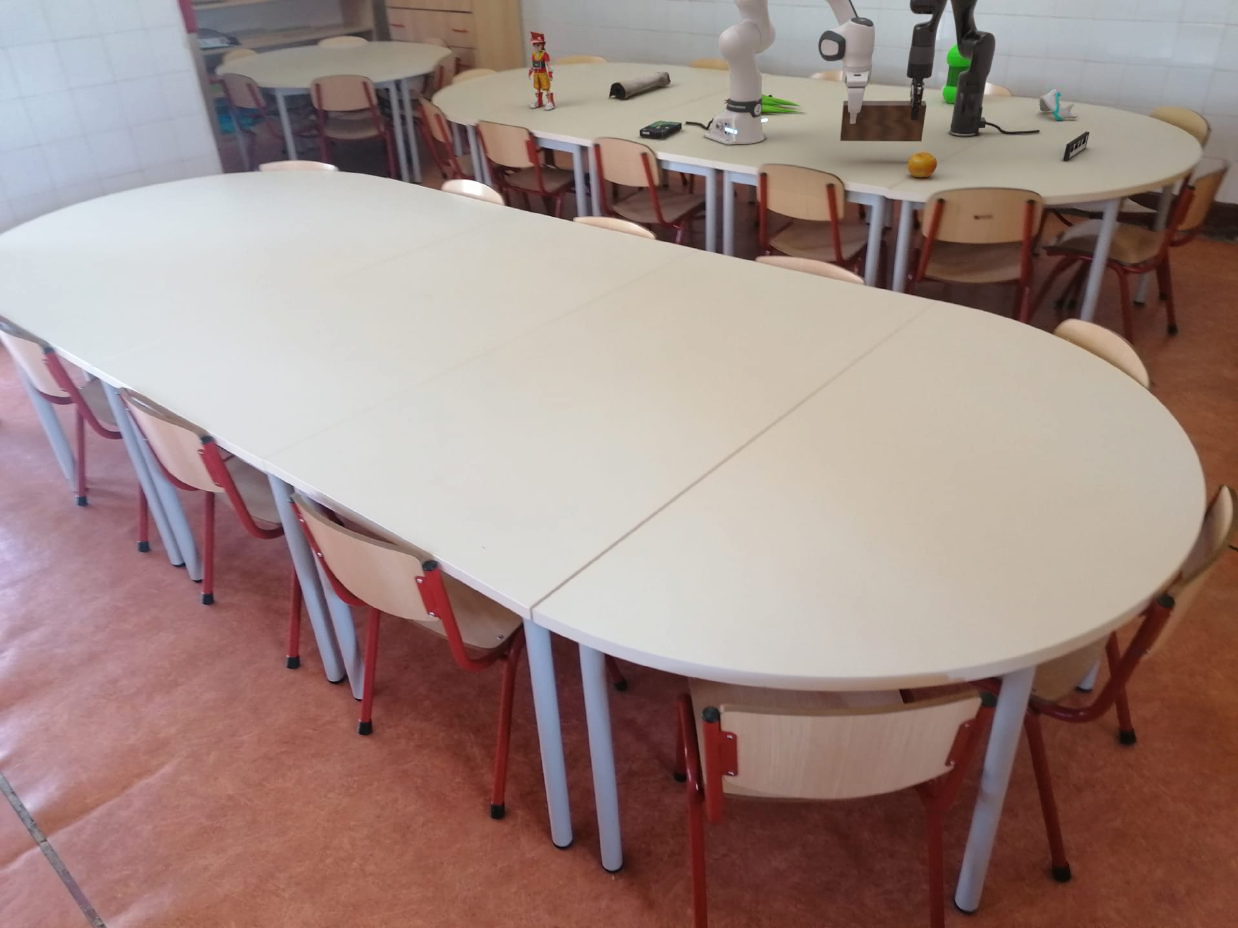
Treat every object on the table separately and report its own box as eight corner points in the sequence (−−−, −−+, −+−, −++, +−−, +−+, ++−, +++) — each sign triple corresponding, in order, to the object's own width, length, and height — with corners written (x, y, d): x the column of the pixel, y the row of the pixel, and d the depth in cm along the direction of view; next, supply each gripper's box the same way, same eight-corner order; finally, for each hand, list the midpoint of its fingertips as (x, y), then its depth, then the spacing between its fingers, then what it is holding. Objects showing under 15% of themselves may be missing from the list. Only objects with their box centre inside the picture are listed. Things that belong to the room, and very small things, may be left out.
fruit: (901, 167, 279) (918, 144, 275) (903, 170, 286) (919, 147, 283) (924, 183, 277) (941, 160, 274) (925, 185, 285) (941, 162, 282)
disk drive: (663, 140, 332) (682, 129, 342) (663, 132, 330) (682, 122, 340) (639, 137, 336) (658, 127, 346) (638, 130, 335) (658, 119, 345)
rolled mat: (651, 76, 408) (662, 61, 399) (662, 93, 408) (674, 79, 400) (605, 92, 391) (616, 77, 383) (617, 110, 391) (628, 95, 383)
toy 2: (719, 111, 356) (789, 123, 343) (720, 98, 353) (791, 109, 341) (748, 101, 376) (815, 112, 364) (750, 88, 374) (817, 99, 361)
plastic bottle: (973, 101, 354) (984, 32, 339) (955, 106, 349) (966, 36, 335) (952, 97, 361) (962, 29, 346) (934, 102, 356) (944, 33, 342)
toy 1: (525, 109, 381) (517, 32, 364) (534, 104, 388) (527, 28, 371) (550, 110, 377) (543, 32, 360) (559, 105, 384) (553, 28, 367)
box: (920, 136, 293) (925, 100, 286) (921, 141, 288) (926, 105, 281) (840, 136, 297) (843, 101, 291) (840, 141, 293) (843, 105, 286)
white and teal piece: (1033, 88, 332) (1060, 81, 331) (1032, 116, 338) (1059, 109, 337) (1052, 98, 319) (1080, 90, 318) (1051, 127, 325) (1079, 119, 324)
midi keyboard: (1067, 160, 287) (1070, 145, 284) (1062, 160, 288) (1066, 144, 285) (1086, 147, 297) (1090, 132, 294) (1082, 147, 298) (1085, 131, 295)
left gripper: (846, 68, 292) (842, 112, 300) (846, 82, 276) (842, 128, 284) (866, 68, 291) (861, 112, 299) (867, 82, 275) (862, 128, 283)
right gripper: (935, 65, 271) (927, 123, 280) (931, 55, 282) (924, 111, 292) (909, 65, 272) (902, 123, 282) (907, 56, 284) (900, 111, 293)
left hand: (852, 120), depth 291 cm, fingers closed on box, 6 cm apart
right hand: (913, 116), depth 287 cm, fingers closed on box, 6 cm apart
